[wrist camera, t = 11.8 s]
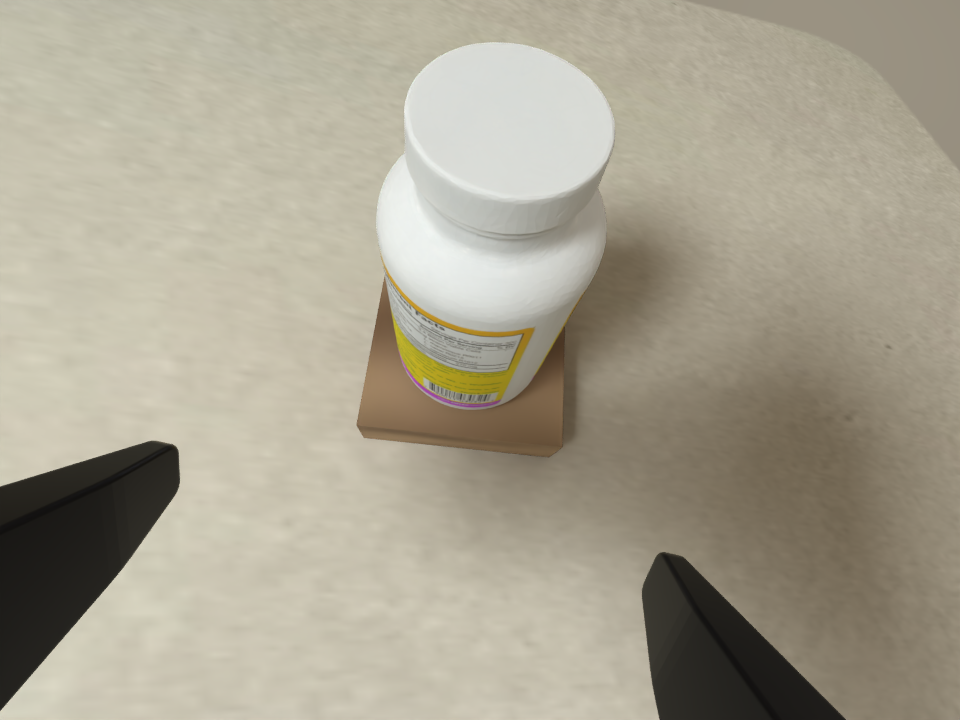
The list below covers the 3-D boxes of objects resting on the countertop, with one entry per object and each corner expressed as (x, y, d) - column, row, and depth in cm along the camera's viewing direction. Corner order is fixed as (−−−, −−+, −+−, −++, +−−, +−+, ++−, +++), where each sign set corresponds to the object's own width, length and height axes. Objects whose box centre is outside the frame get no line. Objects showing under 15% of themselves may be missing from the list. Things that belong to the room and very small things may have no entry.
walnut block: (549, 457, 23) (562, 447, 21) (364, 437, 22) (356, 425, 20) (553, 296, 26) (565, 273, 24) (393, 276, 26) (389, 250, 24)
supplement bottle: (491, 263, 24) (552, -18, 12) (566, 370, 22) (725, 164, 10) (371, 321, 22) (303, 58, 10) (443, 442, 20) (462, 295, 8)
